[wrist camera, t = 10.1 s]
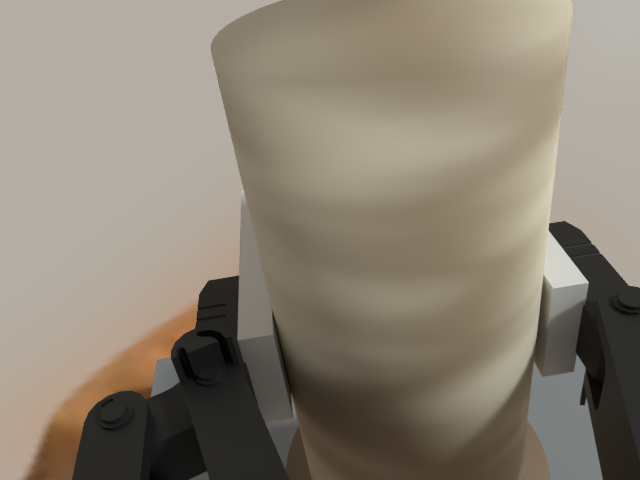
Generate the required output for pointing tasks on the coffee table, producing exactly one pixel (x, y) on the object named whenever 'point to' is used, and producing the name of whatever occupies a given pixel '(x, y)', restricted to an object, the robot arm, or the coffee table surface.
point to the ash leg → (402, 222)
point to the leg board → (543, 415)
